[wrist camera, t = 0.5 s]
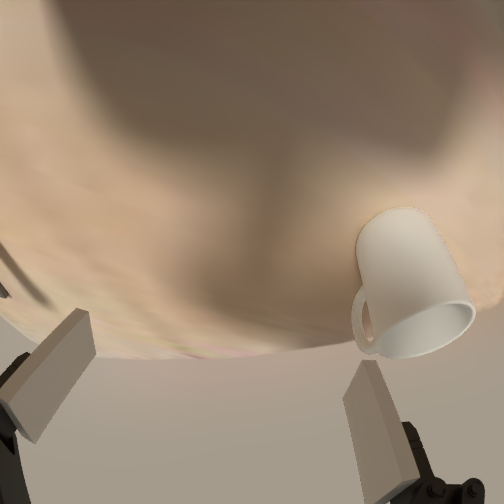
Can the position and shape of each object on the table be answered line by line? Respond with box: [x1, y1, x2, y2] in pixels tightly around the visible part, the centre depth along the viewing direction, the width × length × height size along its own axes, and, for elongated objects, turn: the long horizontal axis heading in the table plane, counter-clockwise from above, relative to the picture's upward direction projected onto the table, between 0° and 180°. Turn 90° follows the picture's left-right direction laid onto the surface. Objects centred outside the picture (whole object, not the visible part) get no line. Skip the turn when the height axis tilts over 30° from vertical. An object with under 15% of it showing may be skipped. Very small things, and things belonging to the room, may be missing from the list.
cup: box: [351, 206, 476, 359], centre depth 22 cm, size 8×12×10 cm
